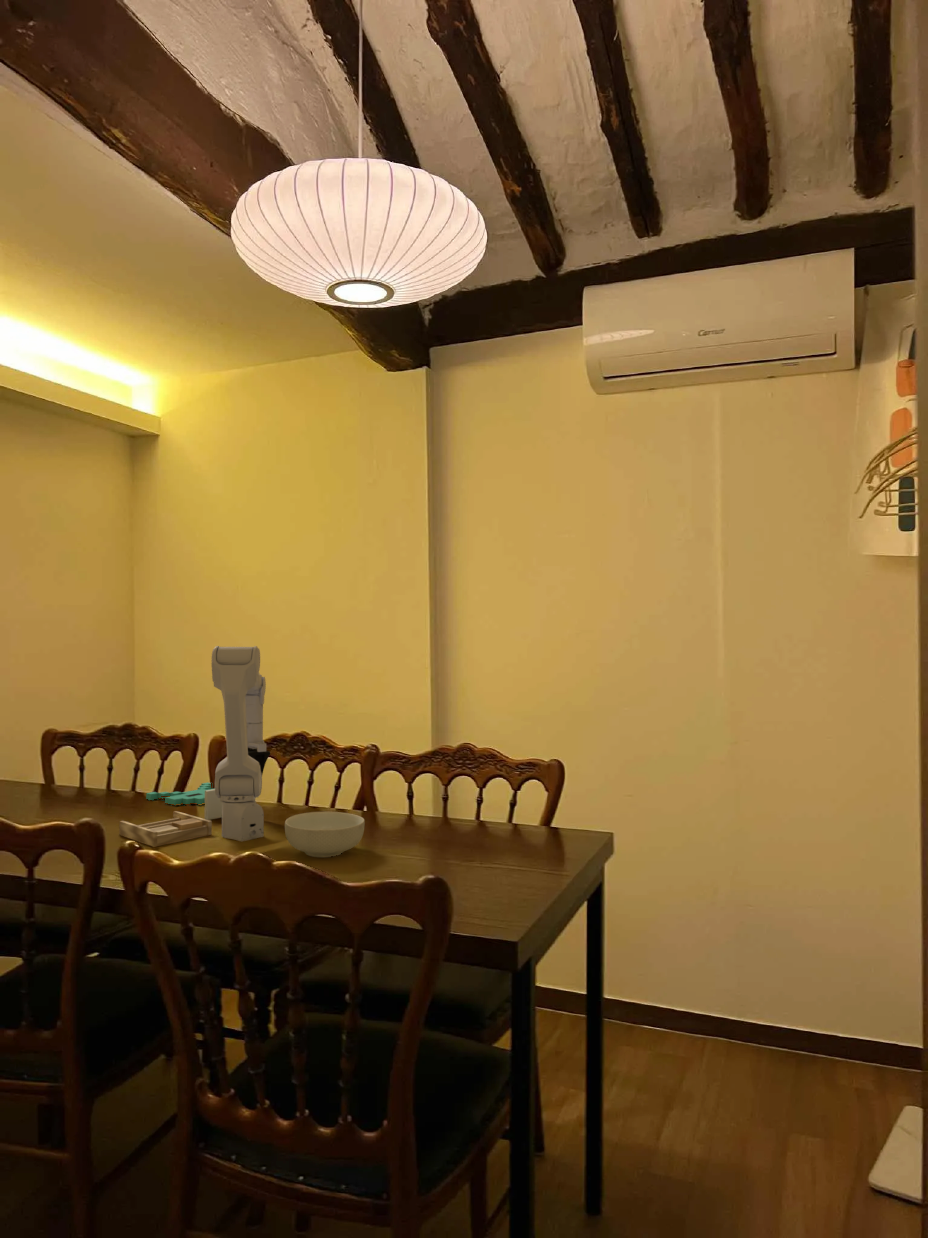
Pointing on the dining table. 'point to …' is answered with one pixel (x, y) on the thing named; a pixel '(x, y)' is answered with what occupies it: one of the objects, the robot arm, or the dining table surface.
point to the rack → (152, 839)
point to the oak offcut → (187, 824)
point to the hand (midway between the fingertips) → (250, 777)
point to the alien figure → (182, 795)
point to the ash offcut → (164, 829)
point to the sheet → (212, 805)
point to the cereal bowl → (324, 832)
